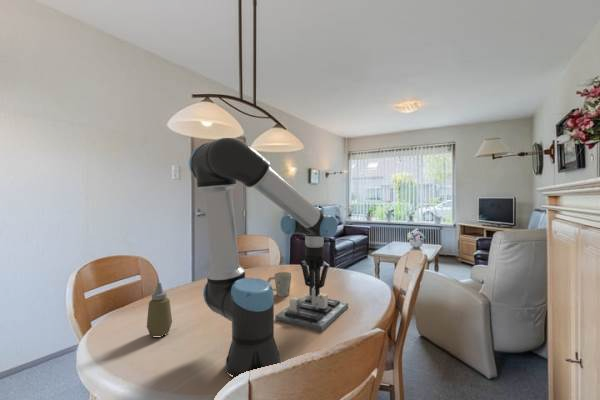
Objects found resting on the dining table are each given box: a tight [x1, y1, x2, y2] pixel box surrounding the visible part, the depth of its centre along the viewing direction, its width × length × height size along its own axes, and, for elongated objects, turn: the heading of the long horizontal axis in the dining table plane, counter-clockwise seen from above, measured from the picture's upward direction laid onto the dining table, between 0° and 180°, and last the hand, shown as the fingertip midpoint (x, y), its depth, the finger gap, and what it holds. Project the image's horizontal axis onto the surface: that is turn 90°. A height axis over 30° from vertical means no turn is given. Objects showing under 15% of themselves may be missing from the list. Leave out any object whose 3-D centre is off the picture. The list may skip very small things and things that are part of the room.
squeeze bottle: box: [146, 282, 173, 337], centre depth 102 cm, size 8×8×18 cm
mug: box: [267, 271, 292, 298], centre depth 143 cm, size 8×13×10 cm, turn 78°
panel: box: [274, 286, 349, 332], centre depth 119 cm, size 26×20×8 cm
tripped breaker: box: [318, 292, 329, 309], centre depth 117 cm, size 3×3×5 cm
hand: (314, 303), depth 118 cm, fingers closed
